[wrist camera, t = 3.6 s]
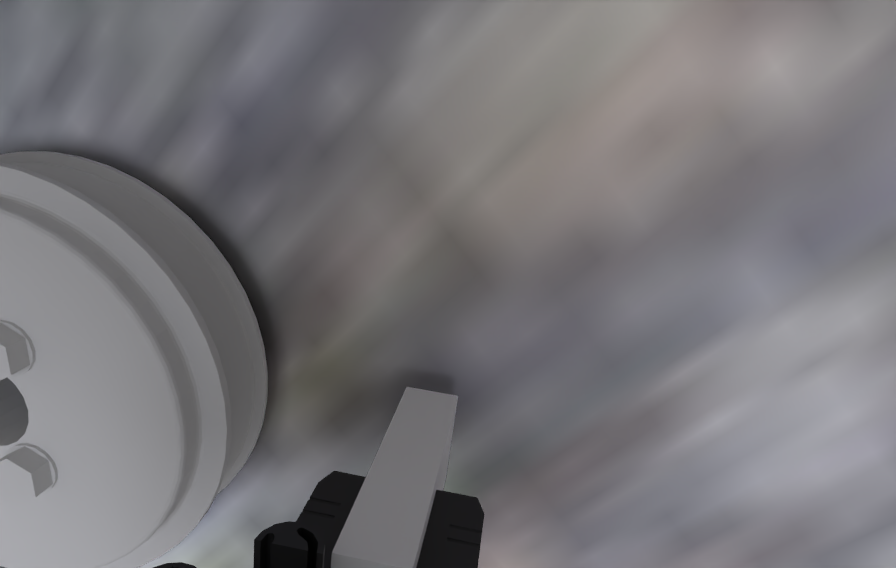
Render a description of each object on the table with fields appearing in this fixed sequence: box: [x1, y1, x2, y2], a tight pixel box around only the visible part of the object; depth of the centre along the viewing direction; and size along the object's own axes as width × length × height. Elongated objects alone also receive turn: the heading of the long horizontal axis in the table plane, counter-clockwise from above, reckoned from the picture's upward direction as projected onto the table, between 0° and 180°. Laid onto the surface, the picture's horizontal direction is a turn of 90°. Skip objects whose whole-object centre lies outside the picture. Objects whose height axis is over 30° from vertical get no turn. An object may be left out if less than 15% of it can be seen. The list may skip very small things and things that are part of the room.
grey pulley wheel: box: [0, 151, 268, 568], centre depth 17 cm, size 13×13×5 cm
